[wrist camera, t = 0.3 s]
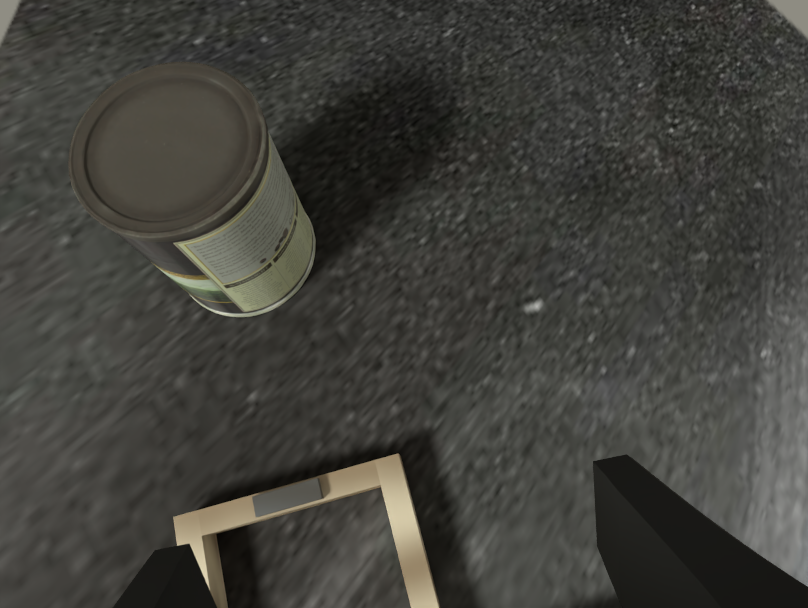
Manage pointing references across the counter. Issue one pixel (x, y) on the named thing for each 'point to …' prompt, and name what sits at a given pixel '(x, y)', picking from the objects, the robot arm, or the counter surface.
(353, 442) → the counter surface
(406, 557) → the wooden square frame
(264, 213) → the coffee can
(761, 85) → the counter surface
